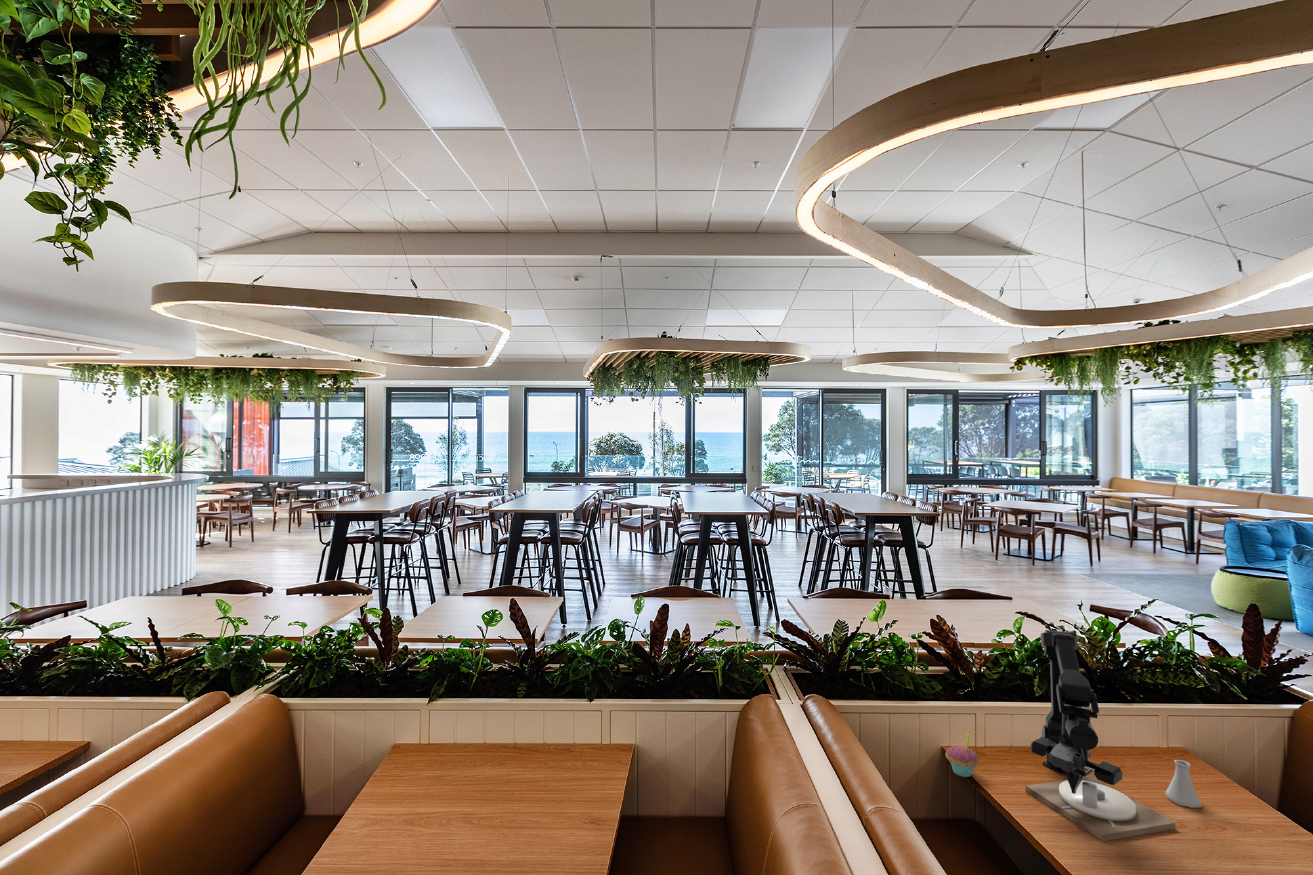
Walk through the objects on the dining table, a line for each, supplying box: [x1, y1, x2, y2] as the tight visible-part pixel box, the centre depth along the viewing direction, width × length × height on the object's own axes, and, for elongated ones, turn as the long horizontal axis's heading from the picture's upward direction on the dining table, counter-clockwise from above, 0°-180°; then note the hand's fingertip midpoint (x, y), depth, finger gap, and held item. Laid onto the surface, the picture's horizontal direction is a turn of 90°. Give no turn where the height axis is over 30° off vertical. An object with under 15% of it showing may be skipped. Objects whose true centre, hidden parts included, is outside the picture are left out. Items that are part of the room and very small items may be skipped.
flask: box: [1164, 759, 1203, 809], centre depth 159 cm, size 7×7×10 cm
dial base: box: [1025, 776, 1176, 842], centre depth 155 cm, size 22×22×2 cm
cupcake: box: [945, 731, 980, 778], centre depth 172 cm, size 9×8×12 cm
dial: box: [1059, 780, 1136, 821], centre depth 155 cm, size 16×16×6 cm
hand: (1073, 793), depth 153 cm, fingers closed
